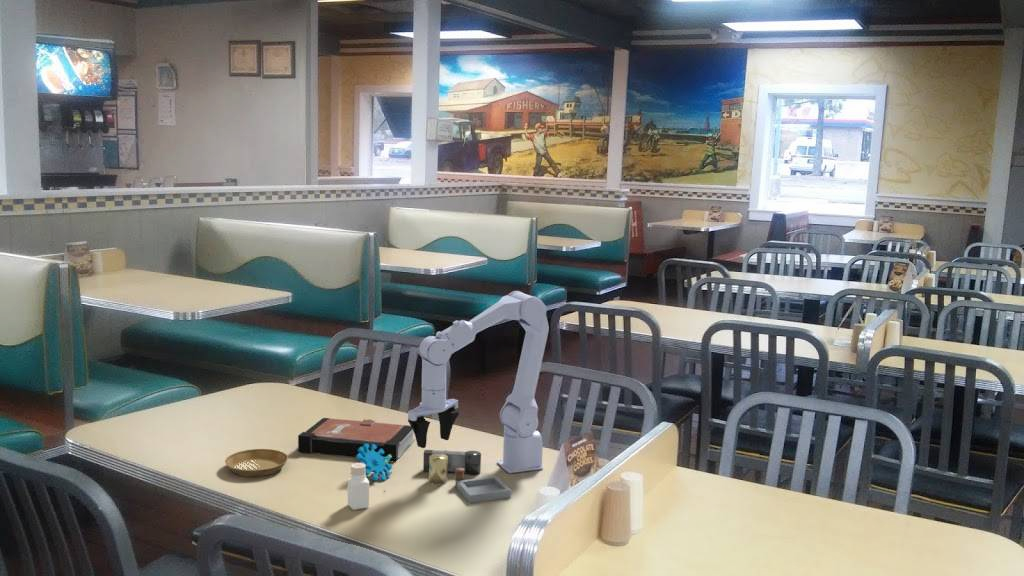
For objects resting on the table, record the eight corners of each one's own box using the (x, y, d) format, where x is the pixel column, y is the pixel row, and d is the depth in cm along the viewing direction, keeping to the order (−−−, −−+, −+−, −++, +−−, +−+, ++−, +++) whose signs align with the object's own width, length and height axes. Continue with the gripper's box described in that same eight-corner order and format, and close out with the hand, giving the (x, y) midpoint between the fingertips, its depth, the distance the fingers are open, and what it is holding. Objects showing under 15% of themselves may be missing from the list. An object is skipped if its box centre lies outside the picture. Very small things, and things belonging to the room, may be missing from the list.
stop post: (462, 483, 209) (462, 467, 208) (465, 486, 207) (465, 470, 206) (453, 484, 208) (454, 468, 207) (456, 487, 206) (457, 471, 205)
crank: (481, 468, 218) (481, 450, 217) (479, 474, 214) (480, 456, 213) (424, 466, 218) (425, 448, 217) (422, 472, 214) (423, 454, 214)
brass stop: (443, 476, 213) (444, 452, 212) (449, 483, 209) (450, 459, 208) (426, 478, 211) (427, 454, 210) (432, 485, 207) (432, 461, 206)
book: (415, 441, 238) (416, 423, 237) (396, 463, 221) (396, 445, 220) (324, 432, 243) (324, 415, 242) (298, 454, 226) (298, 435, 225)
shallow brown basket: (269, 454, 224) (269, 444, 224) (299, 470, 214) (299, 460, 214) (214, 467, 214) (214, 457, 214) (243, 485, 204) (243, 475, 203)
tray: (496, 483, 210) (496, 475, 209) (510, 497, 201) (511, 490, 201) (456, 488, 206) (456, 480, 205) (470, 503, 198) (470, 495, 197)
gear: (371, 481, 204) (352, 444, 208) (356, 494, 207) (338, 457, 210) (403, 473, 213) (385, 438, 217) (388, 486, 216) (371, 451, 219)
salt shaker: (352, 511, 191) (352, 469, 190) (346, 504, 195) (346, 463, 193) (369, 508, 193) (370, 467, 192) (364, 501, 197) (364, 461, 195)
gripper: (444, 378, 214) (443, 431, 216) (399, 390, 203) (399, 446, 206) (464, 384, 209) (463, 438, 212) (420, 396, 199) (419, 453, 201)
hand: (433, 443), depth 208 cm, fingers open, 7 cm apart
